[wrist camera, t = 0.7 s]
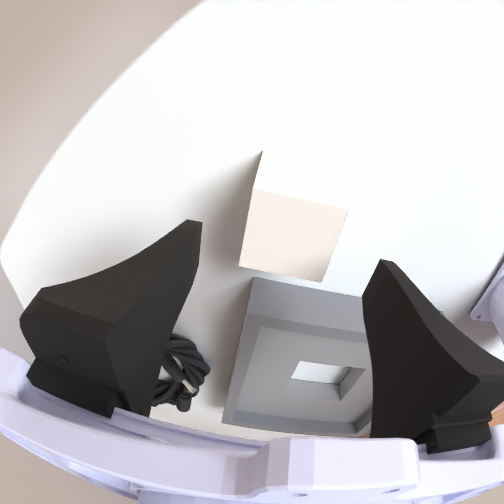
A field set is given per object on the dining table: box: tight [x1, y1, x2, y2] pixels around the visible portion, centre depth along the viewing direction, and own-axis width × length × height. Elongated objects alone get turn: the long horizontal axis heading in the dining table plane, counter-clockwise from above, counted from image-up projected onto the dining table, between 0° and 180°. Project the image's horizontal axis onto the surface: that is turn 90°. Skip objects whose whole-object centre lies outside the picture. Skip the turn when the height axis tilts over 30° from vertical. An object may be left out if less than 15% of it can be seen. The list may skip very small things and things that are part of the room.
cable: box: [152, 334, 210, 412], centre depth 28 cm, size 17×14×4 cm
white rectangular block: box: [239, 150, 349, 282], centre depth 16 cm, size 4×4×6 cm
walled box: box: [221, 277, 445, 437], centre depth 26 cm, size 16×18×4 cm
